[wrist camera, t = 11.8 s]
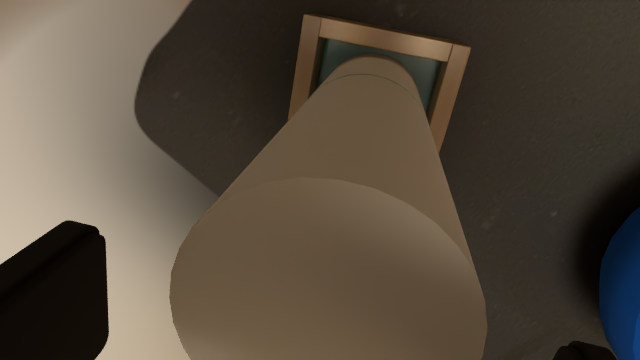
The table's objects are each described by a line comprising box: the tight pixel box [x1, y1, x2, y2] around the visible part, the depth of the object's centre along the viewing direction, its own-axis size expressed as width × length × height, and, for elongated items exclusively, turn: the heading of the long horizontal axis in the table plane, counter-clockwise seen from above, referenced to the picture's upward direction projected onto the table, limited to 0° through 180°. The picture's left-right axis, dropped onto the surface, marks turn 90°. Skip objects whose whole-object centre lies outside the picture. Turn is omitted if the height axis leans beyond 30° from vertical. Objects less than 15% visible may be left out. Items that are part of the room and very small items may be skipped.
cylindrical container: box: [170, 53, 487, 360], centre depth 21 cm, size 7×7×25 cm
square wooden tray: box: [288, 13, 471, 155], centre depth 32 cm, size 11×11×4 cm
